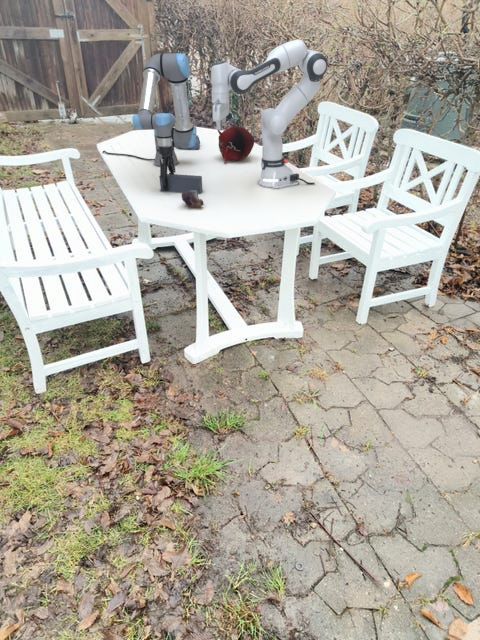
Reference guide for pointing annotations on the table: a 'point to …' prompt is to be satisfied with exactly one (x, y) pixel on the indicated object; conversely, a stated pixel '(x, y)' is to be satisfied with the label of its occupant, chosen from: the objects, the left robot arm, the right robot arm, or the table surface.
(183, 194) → the rock
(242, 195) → the table surface
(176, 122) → the left robot arm
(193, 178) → the bar
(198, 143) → the koala plush
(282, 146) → the right robot arm
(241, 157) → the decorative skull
